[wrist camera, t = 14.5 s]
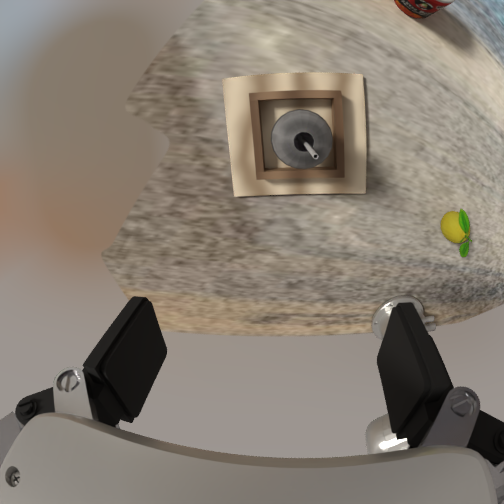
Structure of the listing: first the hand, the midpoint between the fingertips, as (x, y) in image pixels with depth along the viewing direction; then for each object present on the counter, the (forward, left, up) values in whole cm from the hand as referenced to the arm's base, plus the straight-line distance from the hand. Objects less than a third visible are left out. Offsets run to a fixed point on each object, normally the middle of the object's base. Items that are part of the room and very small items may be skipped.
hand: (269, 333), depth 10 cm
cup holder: (-2, -5, -38) cm, 38 cm away
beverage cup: (-2, -5, -37) cm, 38 cm away
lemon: (-31, +10, -38) cm, 50 cm away
